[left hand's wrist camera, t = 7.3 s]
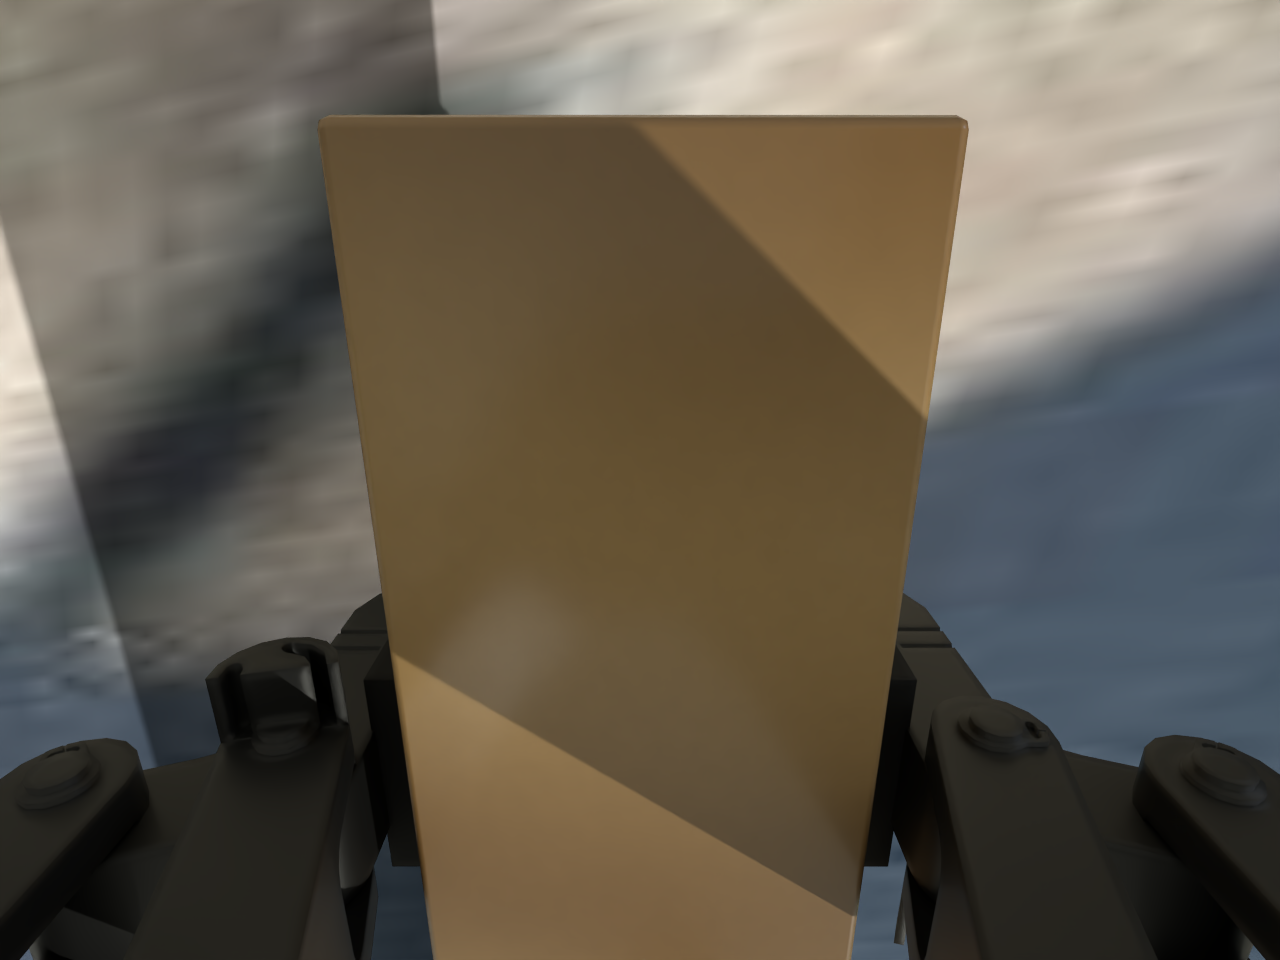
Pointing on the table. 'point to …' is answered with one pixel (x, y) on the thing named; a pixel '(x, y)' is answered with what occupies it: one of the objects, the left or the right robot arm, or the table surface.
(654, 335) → the beam
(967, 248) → the table surface
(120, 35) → the table surface
